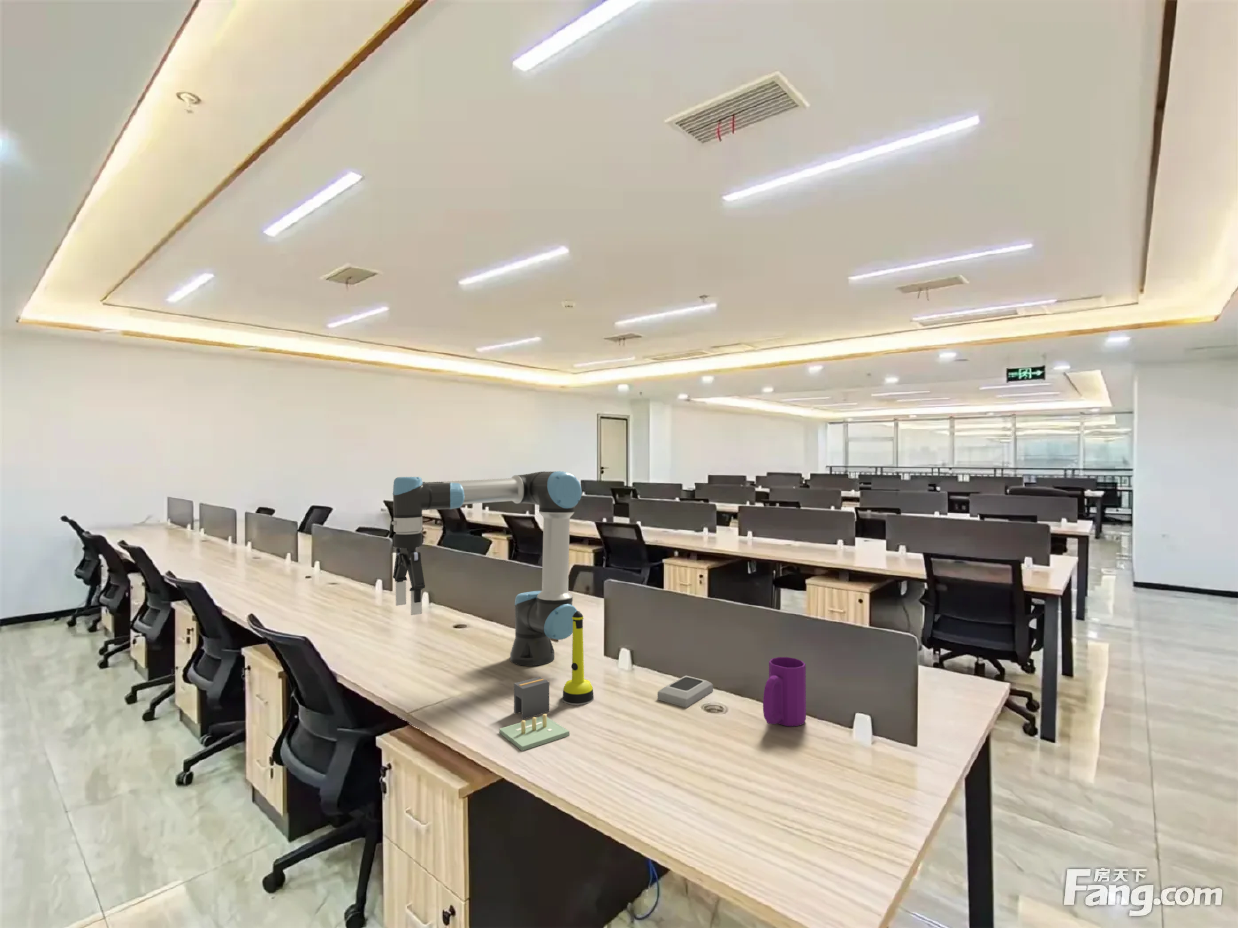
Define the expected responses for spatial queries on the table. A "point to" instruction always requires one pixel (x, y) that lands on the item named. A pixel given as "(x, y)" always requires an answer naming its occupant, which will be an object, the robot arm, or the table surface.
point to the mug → (785, 692)
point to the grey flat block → (685, 691)
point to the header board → (533, 732)
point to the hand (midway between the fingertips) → (408, 609)
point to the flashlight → (577, 669)
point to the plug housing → (531, 697)
